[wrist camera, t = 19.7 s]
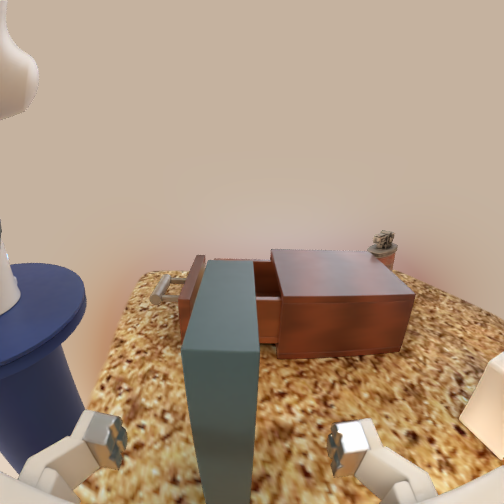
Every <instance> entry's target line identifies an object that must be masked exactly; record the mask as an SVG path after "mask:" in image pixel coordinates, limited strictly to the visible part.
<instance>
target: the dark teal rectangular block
mask: <svg viewBox="0 0 504 504" xmlns="http://www.w3.org/2000/svg"><path fill="white" fill-rule="evenodd" d="M181 356H182V365H183V373H184V381H185V389H186V396H187V403H188V410H189V416H190V423H191V429H192V435H193V441H194V447H195V452H196V458H197V463H198V468H199V473H200V478H201V483H202V488H203V493H204V497H205V502H206V504H250V495H251V482H252V468H253V454H254V440H255V426H256V411H257V395H258V379H259V363H260V344H259V331H258V319H257V306H256V293H255V280H254V267H253V261H229V260H208V262H207V265H206V268H205V271H204V274H203V278H202V281H201V284H200V287H199V290H198V294H197V297H196V300H195V303H194V307H193V310H192V313H191V317H190V320H189V323H188V327H187V330H186V333H185V337H184V340H183V344H182V347H181Z"/></svg>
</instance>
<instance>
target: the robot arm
mask: <svg viewBox="0 0 504 504" xmlns="http://www.w3.org/2000/svg"><path fill="white" fill-rule="evenodd" d="M7 1H8V0H0V120H3V119H6V118H9V117H11V116H14V115H17V114H20V113H22V112H24V111H25V110H26V109H27V108H28V107H29V105H30V104H31V102H32V100H33V99H34V97H35V94H36V92H37V89H38V84H39V71H38V67H37V64H36V62H35V60H34V59H33V58H32V56H31V55H29V54H27V53H25V52H24V51H22V50H21V49H20V48H19V47H18V46H17V45H16V44H15V43H14V42H13V40H12V38H11V37H10V35H9V32H8V29H7V26H6V10H7ZM1 232H2V230H1V220H0V315H1V314H3V313H5V312H6V311H8V310H9V309H10V308H12V307H13V306H14V305H15V304H16V303H17V302H18V300H19V298H20V295H21V293H20V290H19V288H18V286H17V283H18V282H17V279H16V277H15V276H13V273H12V270H11V267H10V264H9V260H8V255H7V253H6V250H5V246H4V243H3V242H2V240H1ZM122 423H123V422H122V419H121V417H118V416H114V415H109V414H104V413H100V412H96V411H91V410H87V409H86V410H85V411H83V413H82V415H81V417H80V419H79V421H78V423H77V425H76V427H75V429H74V431H73V433H72V435H71V437H69V436H67V437H65V438H63V439H62V440H60V441H58V442H56V443H55V444H53V445H51V446H50V447H48V448H46V449H44V450H43V451H41V452H39V453H37V454H35V455H34V456H32V457H30V458H28V460H27V462H26V464H25V466H24V467H23V469H22V471H21V473H20V475H19V477H18V479H15V478H13V477H11V476H9V475H7V474H5V473H3V472H1V471H0V504H80V502H81V500H80V499H79V497H78V496H77V495H76V494H75V493H74V492H73V490H74V489H75V488H76V487H77V486H79V485H80V484H81V483H82V482H83V481H85V480H86V479H87V478H88V477H89V476H91V475H92V474H93V473H94V472H95V471H96V470H98V469H99V468H100V467H105V468H110V469H115V470H119V468H120V465H121V462H122V459H123V458H122V456H121V453H122V452H123V451H124V450H125V449H126V446H127V432H126V429H125V428H123V427H122ZM331 432H332V433H331V434H330V435H328V439H327V452H328V456H329V457H330V458H331V459H333V460H332V463H331V469H332V472H333V476H334V478H335V477H343V476H350V475H354V476H355V477H356V478H357V479H358V480H359V481H360V482H361V483H363V484H364V485H365V486H366V487H367V488H368V489H369V490H370V491H371V492H373V493H374V494H375V495H376V496H377V497H378V498H379V499H380V500H382V501H381V502H380V503H379V504H504V465H502V466H500V467H497V468H496V469H494V470H492V471H490V472H488V473H486V474H484V475H483V476H481V477H479V478H477V479H475V480H472V481H470V482H468V483H466V484H464V485H462V486H459V487H457V488H455V489H453V490H450V491H448V492H445V493H443V494H441V495H438V494H437V491H436V489H435V487H434V485H433V483H432V481H431V478H430V476H429V474H428V473H427V472H426V471H424V470H423V469H421V468H419V467H418V466H416V465H415V464H413V463H411V462H410V461H408V460H407V459H405V458H403V457H402V456H400V455H399V454H397V453H396V452H394V451H393V450H391V449H390V448H388V447H383V445H382V442H381V440H380V438H379V435H378V433H377V431H376V428H375V426H374V424H373V421H372V419H370V418H366V419H359V420H350V421H343V422H335V423H333V424H332V426H331Z"/></svg>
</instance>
